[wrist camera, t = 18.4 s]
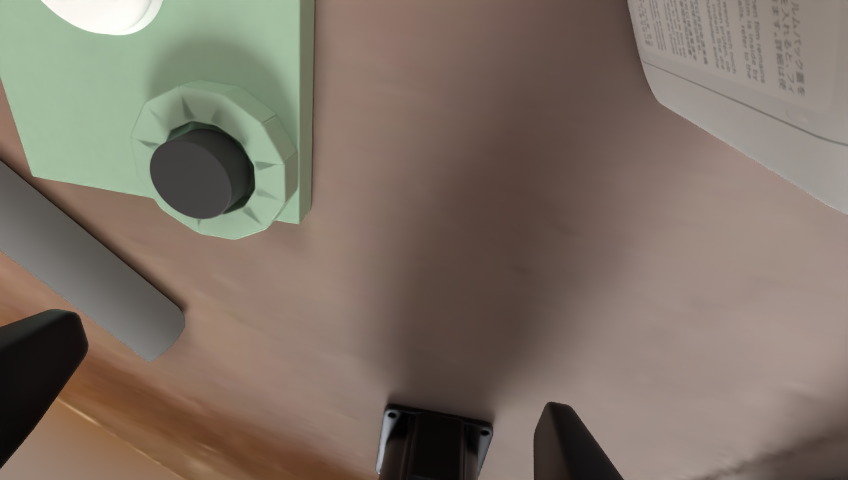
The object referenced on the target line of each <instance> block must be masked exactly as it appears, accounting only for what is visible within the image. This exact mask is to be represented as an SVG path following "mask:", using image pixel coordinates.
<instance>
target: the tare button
mask: <svg viewBox="0 0 848 480" xmlns="http://www.w3.org/2000/svg"><path fill="white" fill-rule="evenodd" d="M150 175H151V180H152V182H153V185H154V187H155V189H156V191H157V192H158V194H159V195H160V196H161V198H162V199H163V200H164V201H165V202H166V203H167V204H168V205H169V206H170V207H172V208H173V209H174V210H176V211H178V212H179V213H181V214H183V215H185V216H188V217H191V218H195V219H211V218H215V217H217V216H219V215H221V214H222V213H224V212H225V211H226V210H227V209H228V208H230V207H231V206H232V205H233V204H234V203H235V202H237V201H238V200H239V199H240V198H241V197H242V196H243V195H244V194H245V193H246V192H247V190H248V188H249V185H250V181H251V171H250V166H249V163H248V160H247V158H246V156H245V154H244V153H243V151H242V150H241V149H240V147H239V146H238V145H237V144H236V143H235V142H234V141H233V140H231V139H230V138H229V137H227V136H226V135H224V134H222V133H220V132H217V131H215V130H211V129H204V128H203V129H194V130H191V131H188V132H186V133H184V134H182V135H180V136H178V137H176V138H173V139H171V140H169V141H167V142H165V143H163V144H161V145H160V146H159V147H158V148H157V149H156V150H155V151H154V153H153V155H152V157H151V161H150Z"/></svg>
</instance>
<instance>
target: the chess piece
mask: <svg viewBox="0 0 848 480" xmlns="http://www.w3.org/2000/svg"><path fill="white" fill-rule="evenodd" d="M41 1H42V2H43V3H44V4H45V5H46V6H47V7H48V8H50V9H51V10H52V11H53V12H54V13H55V14H57V15H58V16H59V17H61V18H62V19H64V20H65V21H67V22H69V23H70V24H72V25H74V26H76V27H79V28H81V29H83V30H86V31H90V32H94V33H100V34H109V35H127V34H131V33H135V32H137V31H139V30H141V29H143V28H144V27H146V26H147V25H148V24H149V23H150V22H151V21H152V20H153V19H154V18H155V16H156V15H157V13H158V11H159V9H160V7H161V5H162V2H163V0H41Z"/></svg>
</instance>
